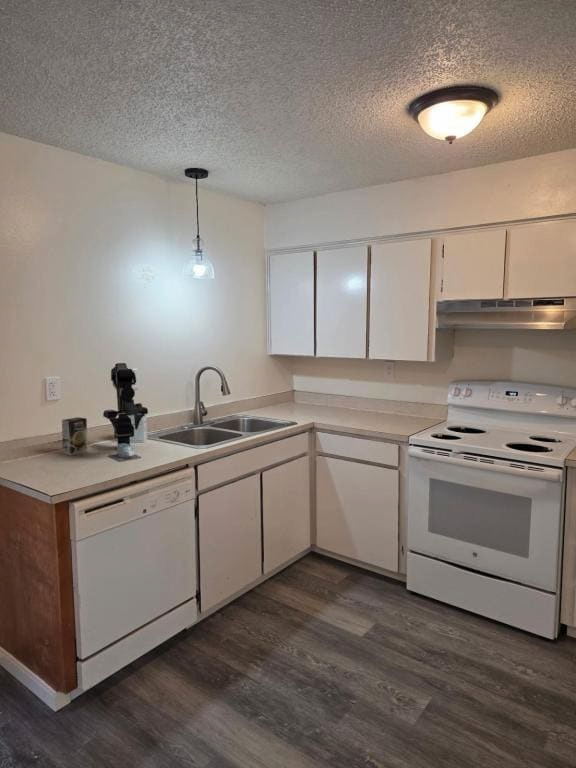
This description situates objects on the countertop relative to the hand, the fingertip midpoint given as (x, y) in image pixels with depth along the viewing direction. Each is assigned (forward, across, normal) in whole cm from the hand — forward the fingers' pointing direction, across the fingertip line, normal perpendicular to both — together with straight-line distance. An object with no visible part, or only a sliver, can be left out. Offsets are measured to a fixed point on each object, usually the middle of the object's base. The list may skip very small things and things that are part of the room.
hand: (126, 431), depth 227 cm
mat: (+12, -1, 0) cm, 12 cm away
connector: (+12, -1, -1) cm, 12 cm away
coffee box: (+12, -15, +22) cm, 30 cm away
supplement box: (+12, +18, +28) cm, 35 cm away
